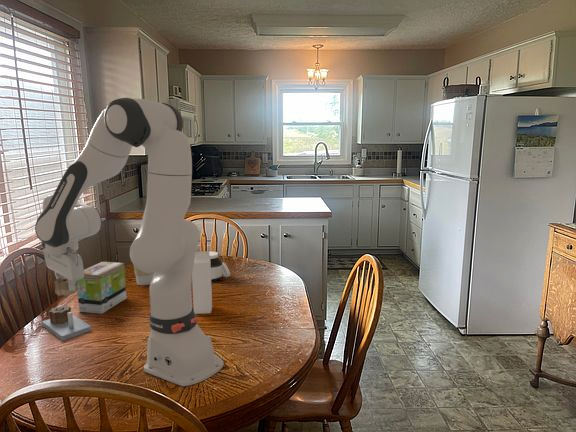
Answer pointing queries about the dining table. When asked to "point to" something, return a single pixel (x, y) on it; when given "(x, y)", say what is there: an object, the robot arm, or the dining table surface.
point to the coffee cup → (143, 277)
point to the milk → (202, 283)
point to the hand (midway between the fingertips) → (66, 287)
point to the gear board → (67, 326)
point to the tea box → (101, 287)
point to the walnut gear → (59, 315)
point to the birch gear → (63, 287)
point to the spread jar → (217, 267)
